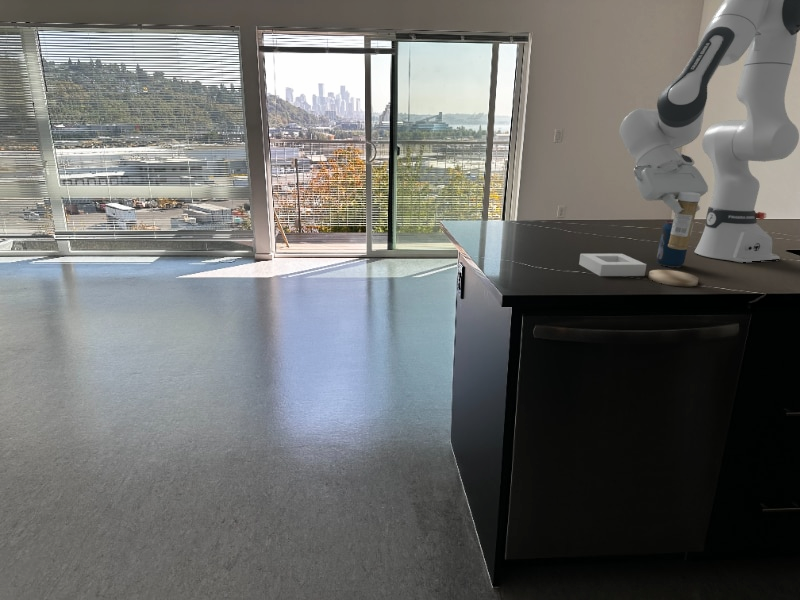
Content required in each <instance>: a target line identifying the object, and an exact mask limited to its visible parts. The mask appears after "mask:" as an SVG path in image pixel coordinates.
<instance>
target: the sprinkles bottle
mask: <svg viewBox="0 0 800 600" xmlns="http://www.w3.org/2000/svg"><path fill="white" fill-rule="evenodd" d="M700 195H701V194H700V193H695V192H679V195H678V200H677V202H678V203H679V204H682V205H683V207H684V208H685V209H684V211H683V212H681V213H677V214H675V213H674V216H673V220H672V221H673V225H672V229H671V235H670V240H669V244H668V247H670V248H673V249H679V250H686V249H687V250H688V249H689V245H690V239H691V237H692V232H693V227H694V221H695V218H696V214H697V212H696V209H697V205H699V202H700V200H701V197H700Z"/></svg>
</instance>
